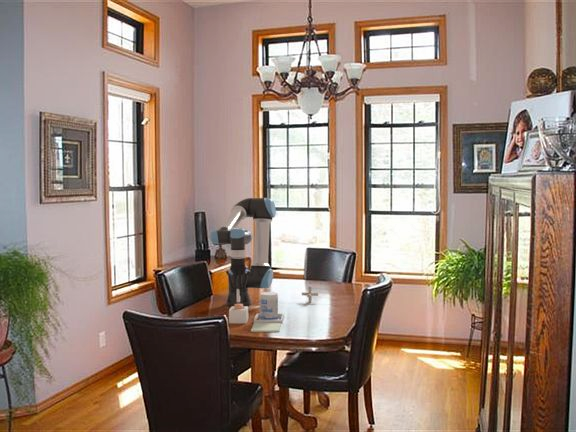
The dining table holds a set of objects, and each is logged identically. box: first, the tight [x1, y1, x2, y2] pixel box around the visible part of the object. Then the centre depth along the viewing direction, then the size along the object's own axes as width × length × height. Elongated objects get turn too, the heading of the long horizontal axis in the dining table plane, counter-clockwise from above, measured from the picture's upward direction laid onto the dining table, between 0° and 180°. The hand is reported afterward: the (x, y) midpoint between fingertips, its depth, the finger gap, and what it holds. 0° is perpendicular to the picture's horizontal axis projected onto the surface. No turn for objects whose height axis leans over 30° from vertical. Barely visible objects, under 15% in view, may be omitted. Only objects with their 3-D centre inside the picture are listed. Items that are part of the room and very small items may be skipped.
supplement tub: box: [259, 291, 279, 320], centre depth 305 cm, size 10×10×15 cm
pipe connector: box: [301, 285, 319, 304], centre depth 349 cm, size 10×10×10 cm
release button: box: [234, 304, 243, 309], centre depth 304 cm, size 5×5×5 cm
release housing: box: [228, 306, 249, 324], centre depth 304 cm, size 9×9×7 cm
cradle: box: [253, 312, 285, 325], centre depth 305 cm, size 15×15×2 cm
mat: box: [250, 322, 282, 333], centre depth 289 cm, size 14×14×1 cm
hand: (238, 301), depth 303 cm, fingers closed
